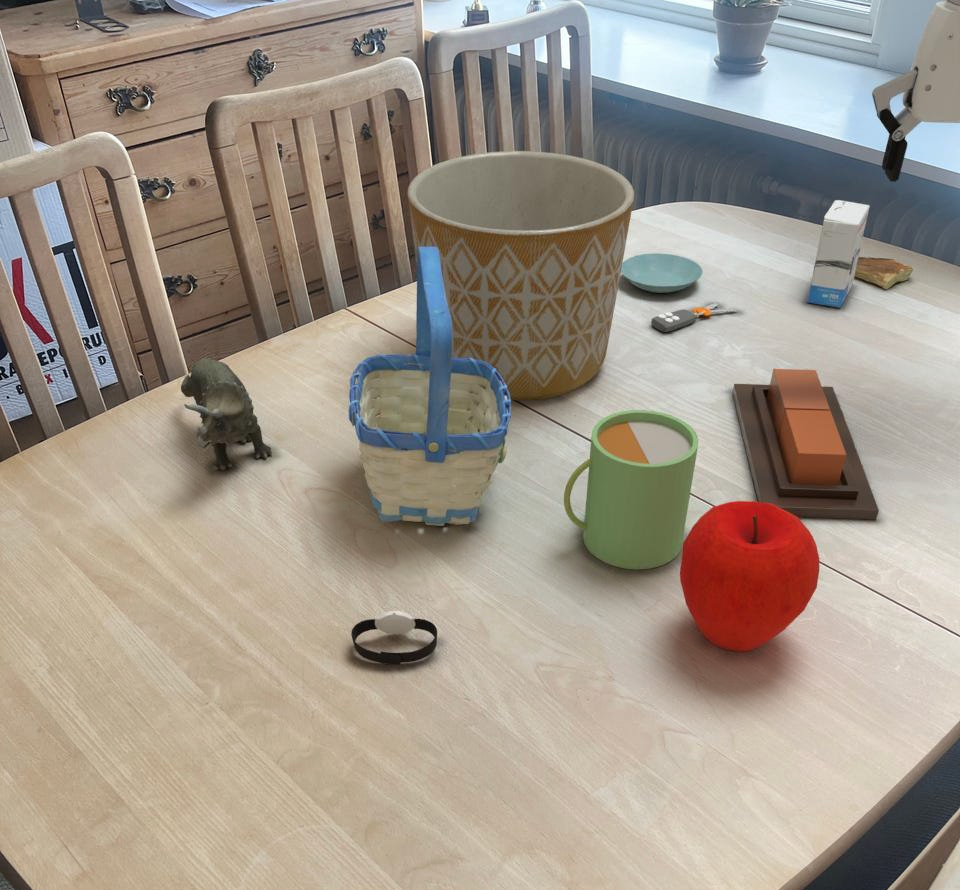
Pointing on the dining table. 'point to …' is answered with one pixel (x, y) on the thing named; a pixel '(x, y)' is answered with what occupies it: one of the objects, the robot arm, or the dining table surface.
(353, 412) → the basket
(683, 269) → the saucer
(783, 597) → the apple
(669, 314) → the key chain
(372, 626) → the watch
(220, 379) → the toy dinosaur
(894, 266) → the piece of bread
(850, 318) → the dining table surface
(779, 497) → the board
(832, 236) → the ink box
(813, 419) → the block
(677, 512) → the mug
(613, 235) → the planter
